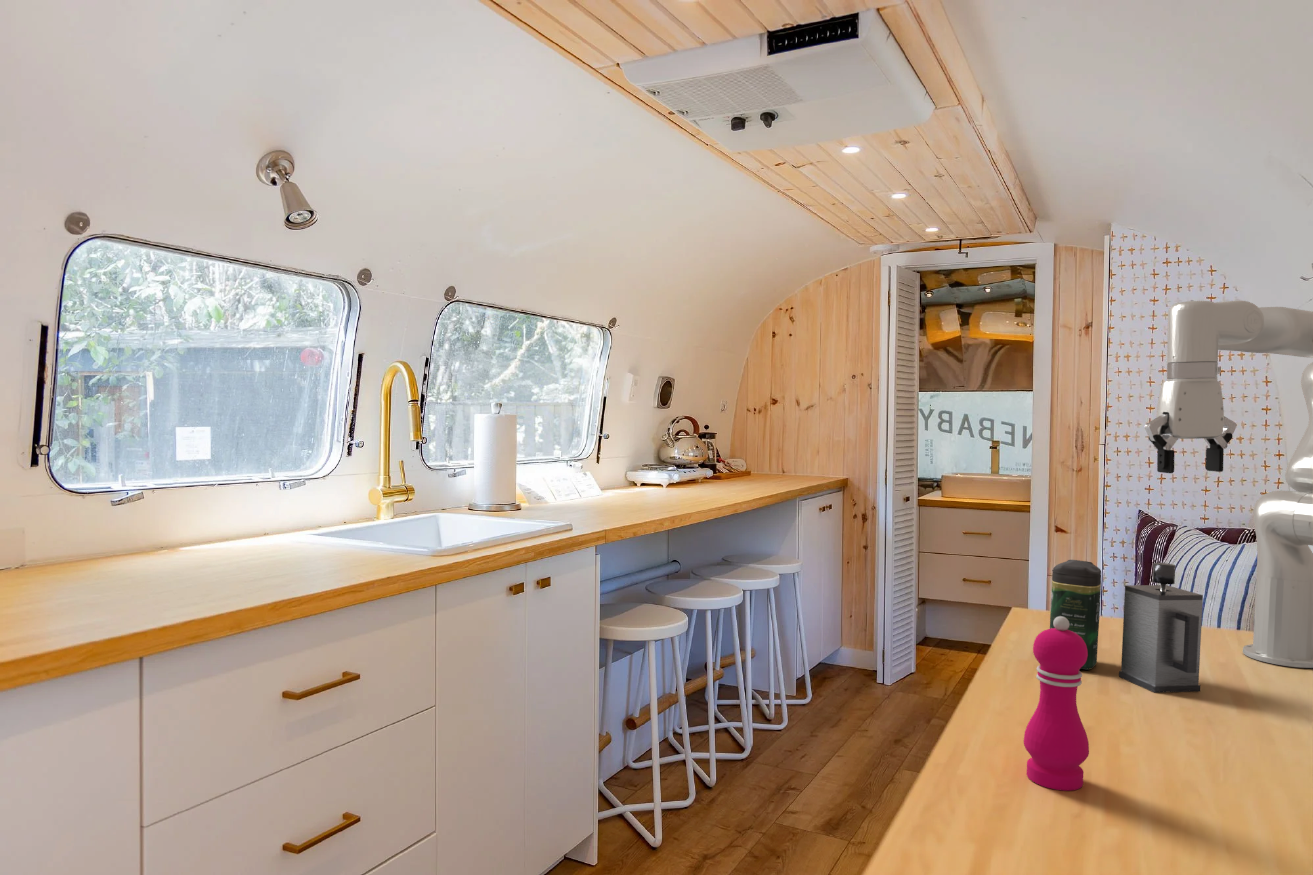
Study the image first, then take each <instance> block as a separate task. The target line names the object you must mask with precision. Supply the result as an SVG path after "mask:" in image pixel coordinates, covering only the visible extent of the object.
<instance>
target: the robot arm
mask: <svg viewBox="0 0 1313 875" xmlns="http://www.w3.org/2000/svg"><path fill="white" fill-rule="evenodd" d="M1166 345H1167V346H1166V347H1167V349H1166V350H1167V353H1166V354H1167V356H1166V357H1167V358H1166V360H1167V361H1166V363H1167V364H1166V366H1167V367H1166V381H1162V383H1161V387H1160V391H1159V395H1158V401H1157V407H1156V408H1157V409H1156V416H1155V417H1156V418H1154V419H1152V420H1150V421H1149V422H1146V424H1144V429H1145V432H1146V434H1147V436H1148V440H1149V442H1150V443H1151V444H1153V445H1152V446H1153V447H1154V449H1155V450H1157V456H1156V458H1157V463H1156V464H1157V465H1156V466H1157V472H1158V473H1163V474H1174V472H1175V450H1174V449H1172V448H1173V447H1174V445H1175V444H1176V443H1177V441H1178V440H1179V439H1182V440H1184V439H1185V440H1191V439H1196V440H1197V439H1198V440H1199V439H1204V441H1205V442H1206V443H1207V446H1208V447H1206V448H1205V470H1206V471H1209V472H1216V473H1217V472H1219V473H1222V472H1223V471H1224V455H1225V454H1224V453H1225V452H1224V451H1225V449H1227V447H1228V443H1229V442H1231V440H1232V439H1233V435H1234V432H1235V430H1236V428H1237V426H1238V425H1237V423H1236V422H1235V421H1233V420H1231V419H1230V418H1228V417H1226V416H1225V414H1224V413H1225V412H1224V411H1225V410H1224V400H1223V399H1224V397H1223V391H1222V386H1221V383H1220V381H1219V380H1218V376H1219V374H1220V373H1221V372H1222V369H1221V368H1222V367H1220V366H1218V365H1219V363H1218V362H1219V358H1218V357H1219V351H1230V352H1242V353H1243V352H1244V353H1254V354H1273V355H1282V356H1283V355H1284V356H1291V357H1292V356H1293V357H1299V358H1311V359H1313V311H1312V310H1305V309H1296V308H1291V307H1284V306H1261V307H1258V306H1257V304H1254V303H1253V302H1250V301H1248V300H1247V301H1246V300H1228V301H1217V302H1214V301H1210V300H1189V301H1188V300H1187V301H1180V302H1177V303H1173V304H1172V305H1171V306H1170V307H1169V309H1168V311H1167V344H1166ZM1300 384H1301V386H1300V387H1301V390H1302V394H1303V396H1304V400H1305V406H1306V408H1307V413H1308V424H1307V427H1306V429H1305V431H1304V433H1303V435H1302V437H1301V439H1300V440H1299V442H1298V445H1297V446H1296V448H1295V450H1294V451H1293V454H1292V455H1291V458H1290V459H1289V462H1288V463H1287V467H1286V469H1285V474H1284V477H1285V482H1286V484H1287V485H1288V487H1290V488H1291V489H1292V490H1273V491H1270V492H1267V493H1265V494H1262V495H1261V496H1260V497H1259V498H1258V499H1257V500H1256V502H1255V503H1254V506H1253V509H1252V518H1253V519H1252V520H1253V525H1254V531H1255V536H1256V537H1255V538H1256V552H1257V553H1256V556H1257V557H1256V558H1257V561H1256V578H1255V579H1256V581H1255V599H1254V600H1255V601H1254V619H1253V638H1252V643H1251V644H1247V645H1244V646H1243V647H1242V653H1243V654H1244V655H1245V656H1247V657H1249V658H1251V659H1253V660H1257V661H1260V662H1262V663H1263V662H1264V663H1268V664H1272V665H1277V666H1278V665H1279V666H1284V667H1290V668H1291V667H1292V668H1299V669H1300V668H1301V669H1302V668H1303V669H1313V551H1312V549H1311V547H1310V546H1313V361H1312V362H1311V363H1309V364H1307V365H1306V366H1305V367H1304V369H1303V371H1302V373H1301V379H1300Z"/></svg>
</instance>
